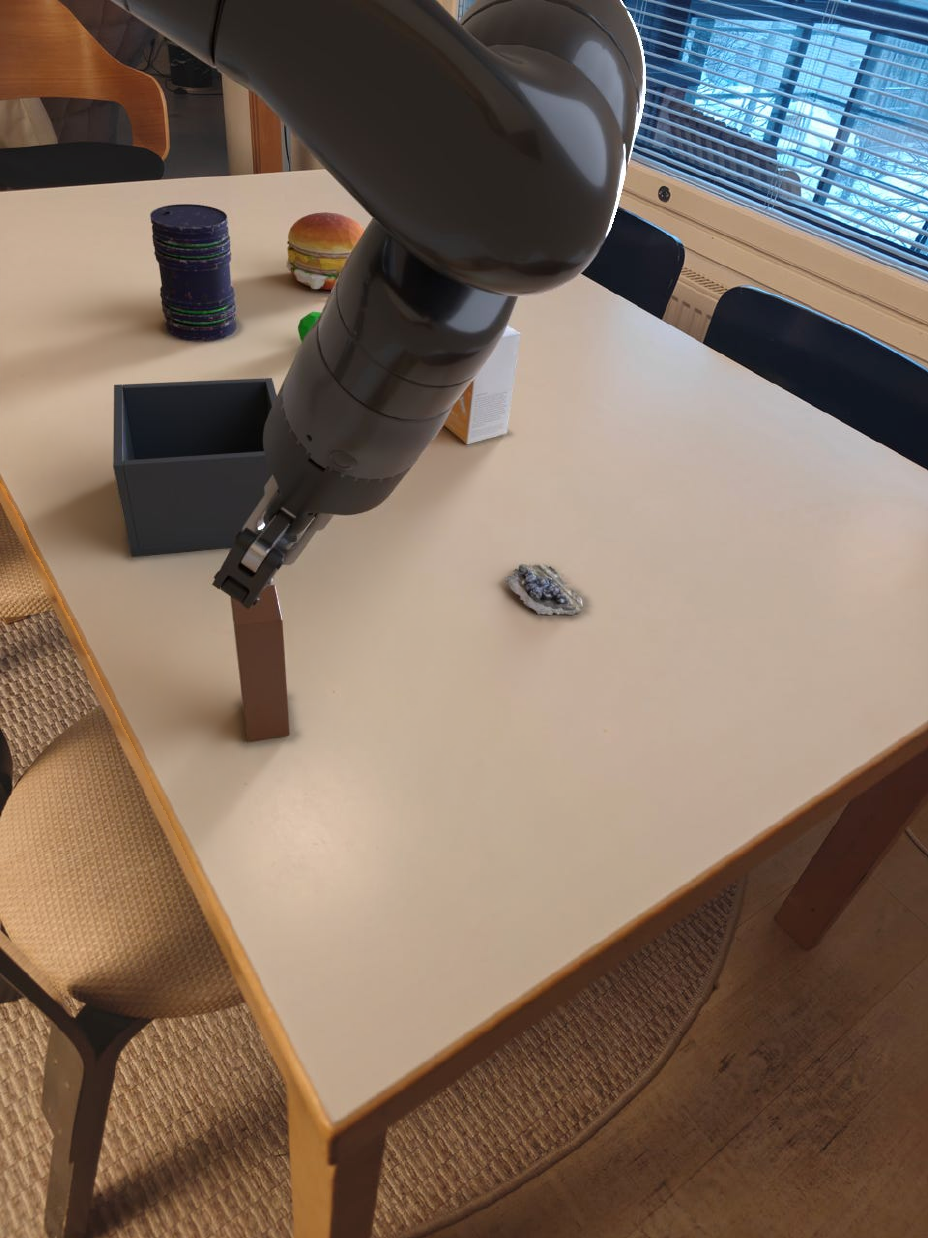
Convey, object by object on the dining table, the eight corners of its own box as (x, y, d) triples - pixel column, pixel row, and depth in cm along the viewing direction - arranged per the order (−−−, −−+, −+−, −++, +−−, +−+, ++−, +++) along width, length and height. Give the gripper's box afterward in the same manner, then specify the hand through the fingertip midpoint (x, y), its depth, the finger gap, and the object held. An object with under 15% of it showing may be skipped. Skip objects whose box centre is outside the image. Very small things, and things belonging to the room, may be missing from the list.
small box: (429, 416, 108) (437, 314, 99) (470, 406, 111) (481, 306, 102) (466, 445, 103) (477, 341, 95) (508, 434, 106) (522, 332, 98)
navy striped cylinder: (246, 318, 125) (238, 209, 115) (225, 345, 118) (214, 231, 108) (178, 309, 125) (164, 199, 116) (153, 336, 118) (136, 221, 108)
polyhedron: (296, 340, 121) (294, 307, 118) (330, 339, 122) (330, 306, 119) (302, 356, 117) (301, 321, 114) (337, 354, 119) (337, 320, 116)
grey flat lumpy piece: (529, 560, 87) (532, 545, 86) (598, 593, 84) (602, 578, 83) (493, 592, 83) (495, 576, 81) (564, 628, 79) (568, 613, 78)
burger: (381, 274, 143) (383, 211, 137) (353, 302, 133) (354, 235, 127) (305, 260, 145) (303, 197, 139) (272, 287, 135) (269, 220, 129)
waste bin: (131, 557, 82) (113, 465, 75) (130, 470, 93) (114, 384, 86) (297, 541, 86) (293, 453, 79) (276, 460, 97) (272, 377, 90)
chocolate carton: (247, 742, 66) (234, 625, 58) (242, 705, 69) (229, 588, 61) (289, 736, 67) (282, 620, 59) (282, 699, 70) (275, 583, 62)
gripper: (366, 279, 45) (286, 438, 59) (210, 454, 38) (159, 590, 51) (480, 369, 46) (375, 504, 60) (351, 555, 39) (265, 661, 53)
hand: (276, 543), depth 56 cm, fingers open, 8 cm apart
